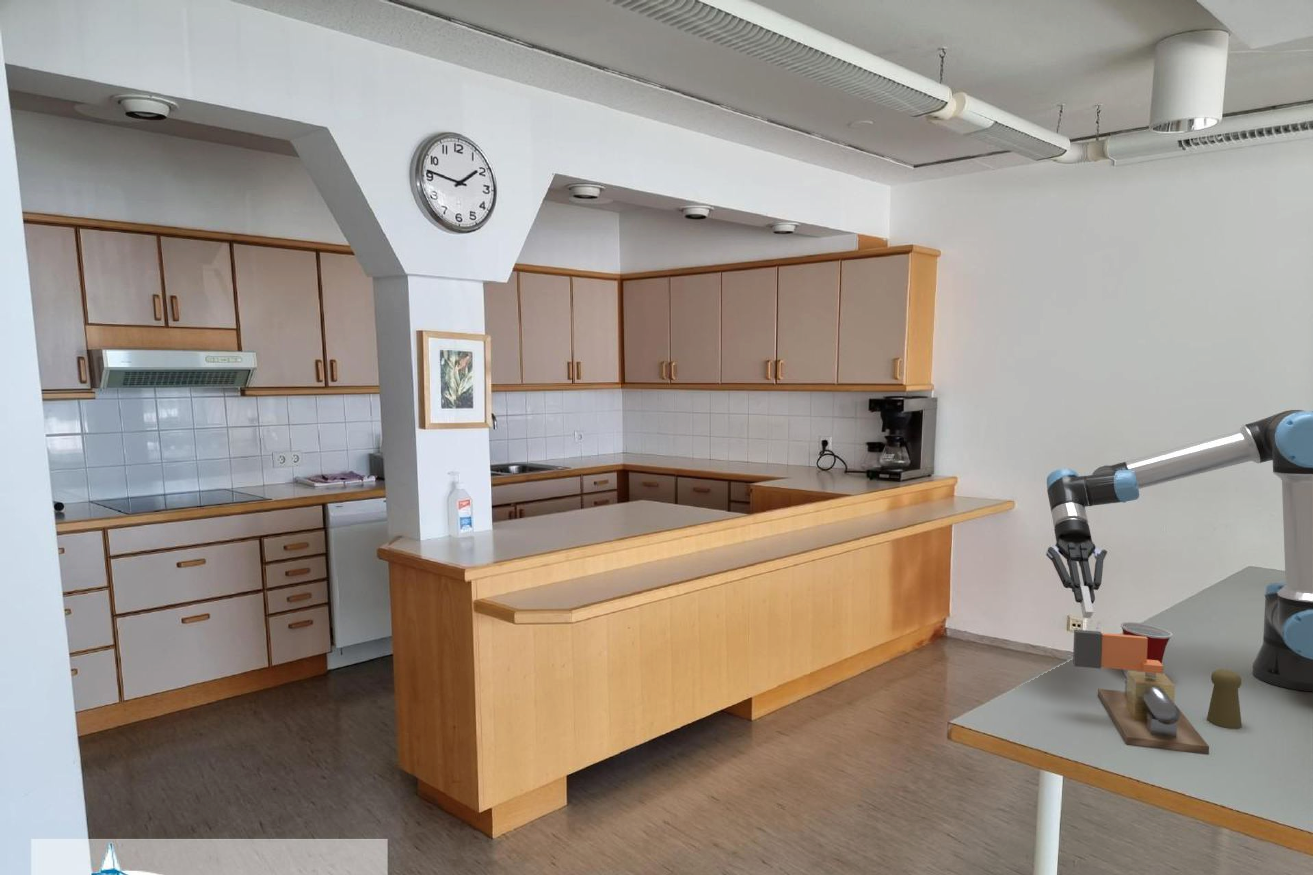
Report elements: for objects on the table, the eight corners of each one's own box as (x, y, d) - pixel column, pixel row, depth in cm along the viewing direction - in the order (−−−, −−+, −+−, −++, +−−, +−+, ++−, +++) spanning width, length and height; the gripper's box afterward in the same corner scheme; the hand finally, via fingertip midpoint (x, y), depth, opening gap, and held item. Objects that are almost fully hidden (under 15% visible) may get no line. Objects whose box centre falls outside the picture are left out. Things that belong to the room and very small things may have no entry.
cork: (1242, 730, 166) (1245, 678, 165) (1207, 724, 169) (1209, 672, 168) (1240, 720, 171) (1243, 669, 170) (1206, 714, 174) (1208, 664, 173)
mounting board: (1168, 702, 180) (1168, 695, 180) (1208, 753, 156) (1209, 746, 155) (1097, 694, 184) (1098, 688, 184) (1126, 744, 160) (1126, 736, 160)
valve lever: (1157, 673, 170) (1159, 635, 170) (1162, 679, 167) (1164, 640, 166) (1072, 665, 175) (1073, 628, 175) (1075, 671, 172) (1076, 633, 171)
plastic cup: (1178, 686, 190) (1180, 635, 189) (1127, 682, 192) (1129, 633, 191) (1159, 669, 200) (1161, 622, 199) (1111, 666, 202) (1113, 619, 202)
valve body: (1151, 695, 180) (1153, 660, 180) (1186, 741, 157) (1188, 701, 157) (1116, 691, 182) (1117, 657, 182) (1145, 736, 160) (1147, 697, 159)
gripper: (1097, 536, 195) (1116, 625, 181) (1038, 533, 198) (1052, 620, 184) (1105, 518, 190) (1125, 608, 175) (1044, 516, 193) (1059, 604, 178)
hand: (1088, 614), depth 179 cm, fingers closed
